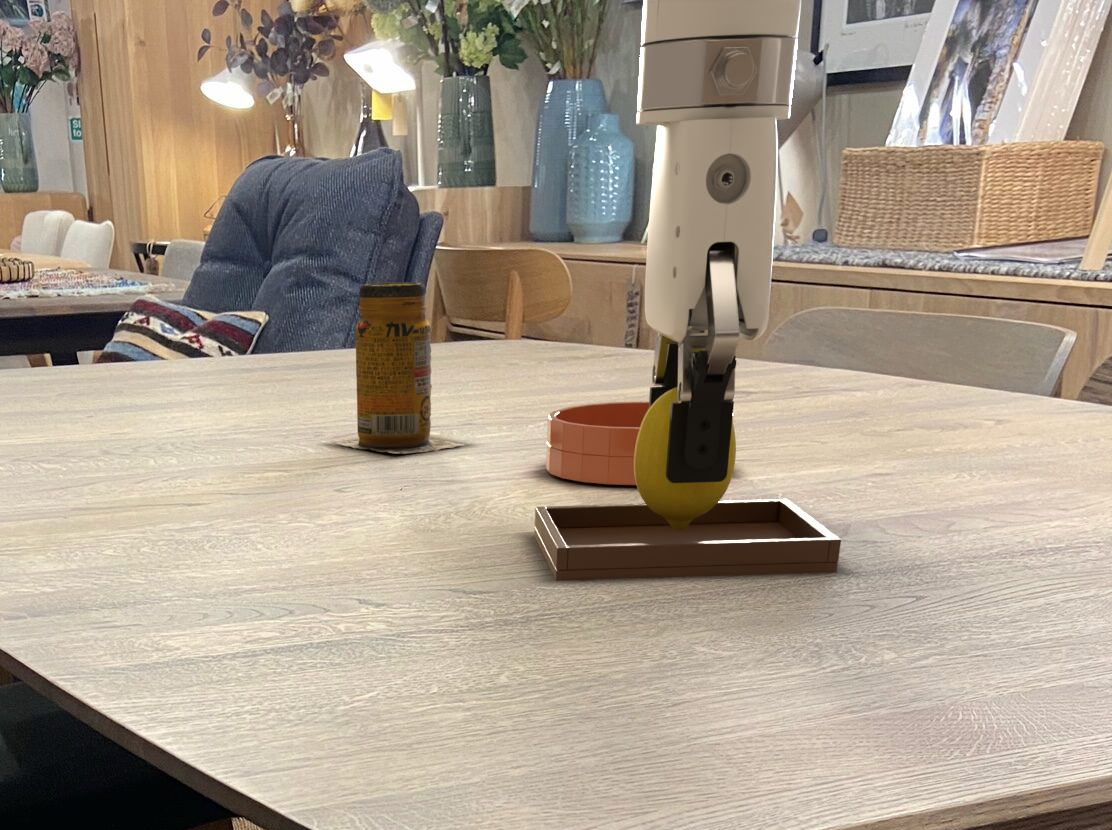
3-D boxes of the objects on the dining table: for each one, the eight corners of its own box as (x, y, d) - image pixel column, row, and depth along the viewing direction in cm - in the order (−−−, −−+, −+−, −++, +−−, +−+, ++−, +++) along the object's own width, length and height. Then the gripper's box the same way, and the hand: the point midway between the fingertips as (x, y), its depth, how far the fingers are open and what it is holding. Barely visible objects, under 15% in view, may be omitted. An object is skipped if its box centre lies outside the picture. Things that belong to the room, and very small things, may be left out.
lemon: (622, 521, 85) (630, 374, 81) (716, 518, 85) (729, 370, 81) (638, 542, 80) (649, 386, 76) (738, 539, 80) (754, 383, 76)
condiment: (404, 435, 123) (402, 279, 117) (466, 447, 117) (467, 282, 111) (333, 445, 120) (328, 285, 114) (394, 458, 114) (391, 289, 108)
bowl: (706, 454, 111) (711, 399, 109) (745, 486, 100) (752, 424, 98) (537, 460, 111) (539, 404, 109) (557, 492, 100) (560, 430, 98)
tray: (784, 529, 88) (787, 498, 87) (836, 573, 78) (841, 539, 77) (534, 537, 88) (535, 506, 87) (555, 582, 78) (557, 548, 77)
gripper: (840, 75, 64) (791, 498, 73) (750, 94, 79) (718, 444, 88) (671, 81, 64) (643, 503, 73) (612, 98, 79) (595, 448, 88)
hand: (684, 467), depth 81 cm, fingers closed on lemon, 5 cm apart
